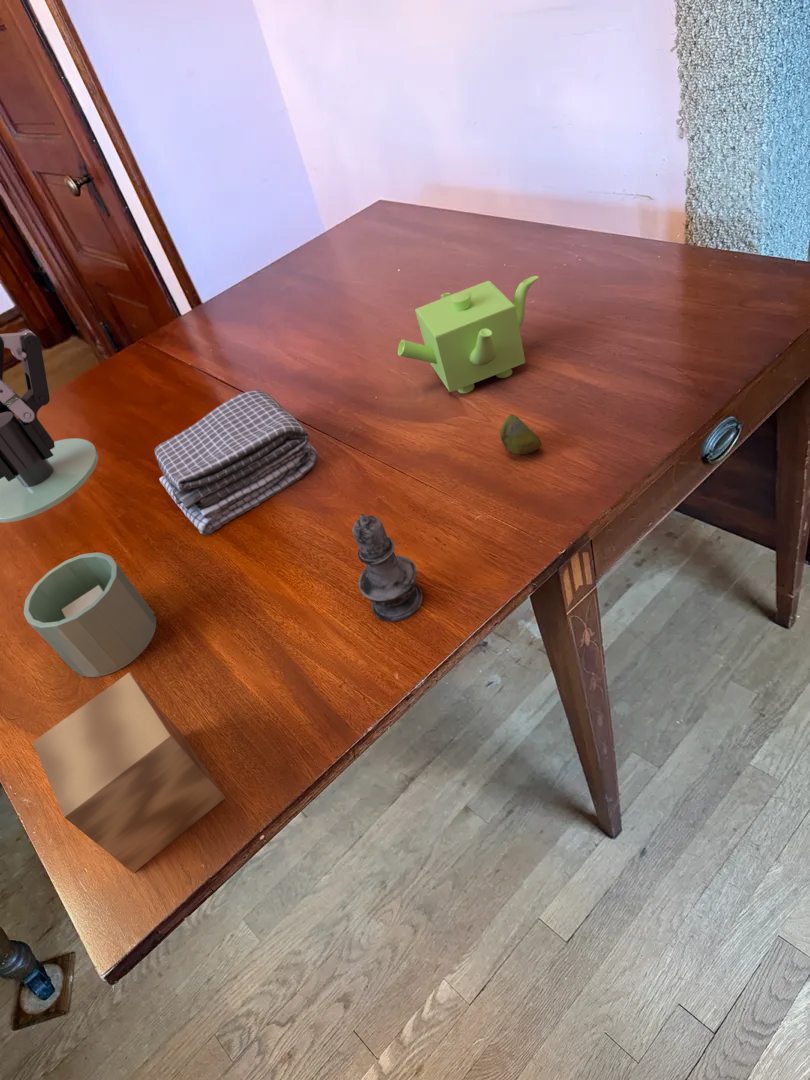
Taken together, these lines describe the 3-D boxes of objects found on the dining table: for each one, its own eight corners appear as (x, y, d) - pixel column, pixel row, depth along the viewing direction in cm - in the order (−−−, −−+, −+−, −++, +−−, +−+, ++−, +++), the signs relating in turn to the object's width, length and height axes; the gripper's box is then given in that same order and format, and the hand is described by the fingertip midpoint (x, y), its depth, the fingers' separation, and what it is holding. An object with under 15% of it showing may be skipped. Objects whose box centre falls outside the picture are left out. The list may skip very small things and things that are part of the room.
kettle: (549, 343, 101) (537, 265, 94) (512, 406, 93) (496, 326, 86) (450, 341, 109) (432, 269, 101) (408, 399, 101) (385, 325, 93)
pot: (87, 694, 77) (38, 643, 71) (59, 644, 83) (13, 594, 78) (170, 634, 80) (130, 581, 74) (136, 590, 87) (98, 539, 81)
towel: (327, 466, 94) (305, 416, 89) (198, 542, 90) (168, 494, 85) (280, 421, 105) (258, 374, 100) (163, 487, 101) (134, 441, 96)
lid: (2, 546, 62) (-55, 481, 57) (-25, 495, 70) (-77, 435, 65) (118, 474, 66) (74, 408, 61) (81, 433, 73) (38, 371, 68)
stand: (133, 873, 61) (64, 817, 54) (97, 800, 67) (31, 742, 60) (225, 797, 63) (170, 735, 57) (183, 734, 70) (129, 671, 63)
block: (98, 660, 79) (72, 631, 76) (86, 638, 82) (60, 609, 79) (136, 634, 80) (112, 605, 77) (122, 614, 83) (98, 584, 80)
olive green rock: (509, 438, 89) (502, 404, 85) (549, 440, 86) (543, 404, 83) (498, 463, 86) (490, 428, 83) (539, 465, 84) (532, 429, 80)
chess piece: (436, 587, 74) (405, 498, 67) (406, 631, 71) (370, 543, 63) (388, 573, 78) (353, 487, 70) (357, 615, 75) (317, 529, 67)
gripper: (-206, 343, 50) (-37, 527, 61) (-10, 248, 54) (113, 437, 66) (-209, 318, 55) (-54, 493, 66) (-30, 233, 59) (87, 411, 71)
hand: (29, 464), depth 66 cm, fingers closed on lid, 3 cm apart
